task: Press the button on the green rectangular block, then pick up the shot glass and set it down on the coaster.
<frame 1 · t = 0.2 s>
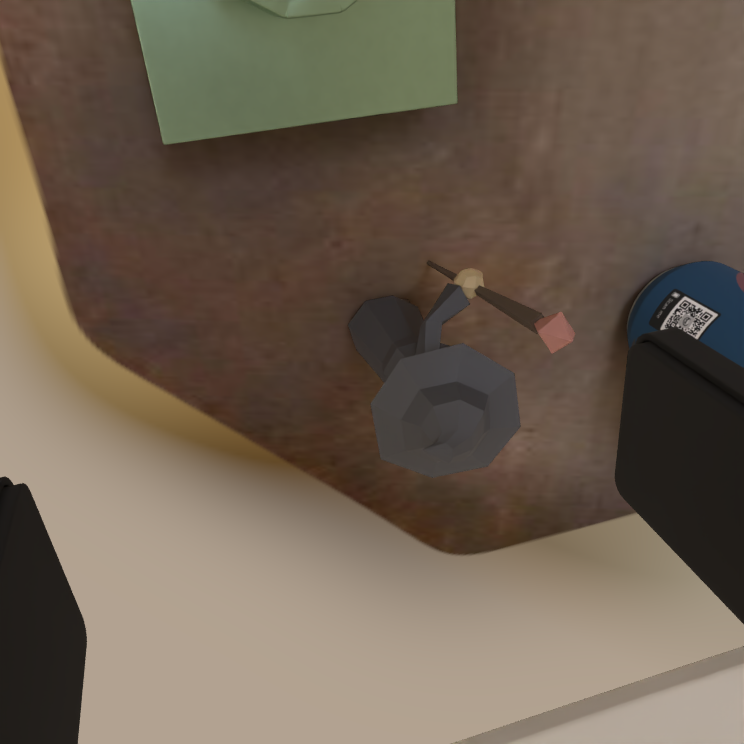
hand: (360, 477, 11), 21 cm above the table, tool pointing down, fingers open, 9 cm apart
soda can: (669, 312, 38), on the table
wizard figurine: (386, 300, 33), on the table
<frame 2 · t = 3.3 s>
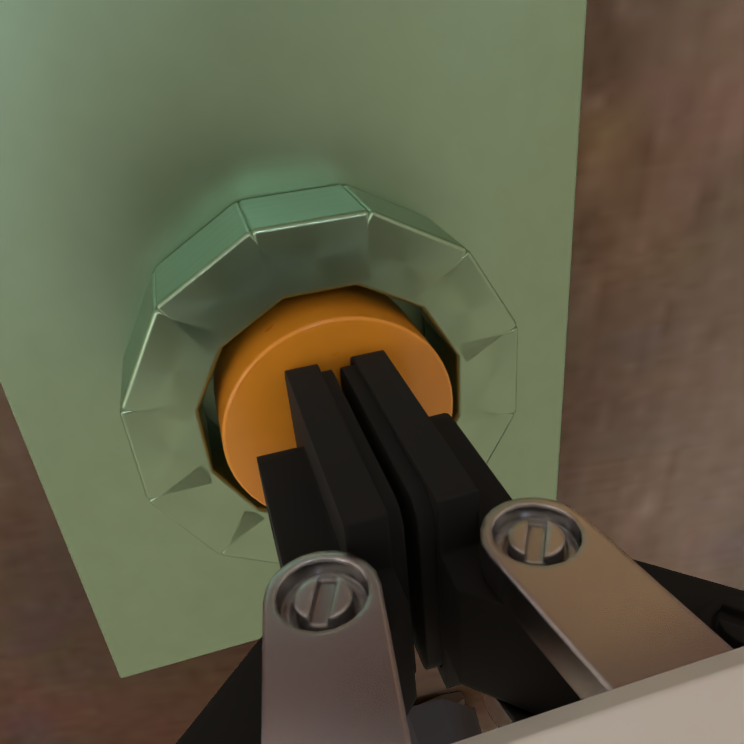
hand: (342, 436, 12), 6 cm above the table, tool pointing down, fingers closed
button: (331, 401, 12), point 5 cm above the table, slide at -0.8 cm, touching gripper
green rectangular block: (287, 304, 16), on the table
wizard figurine: (433, 693, 25), on the table
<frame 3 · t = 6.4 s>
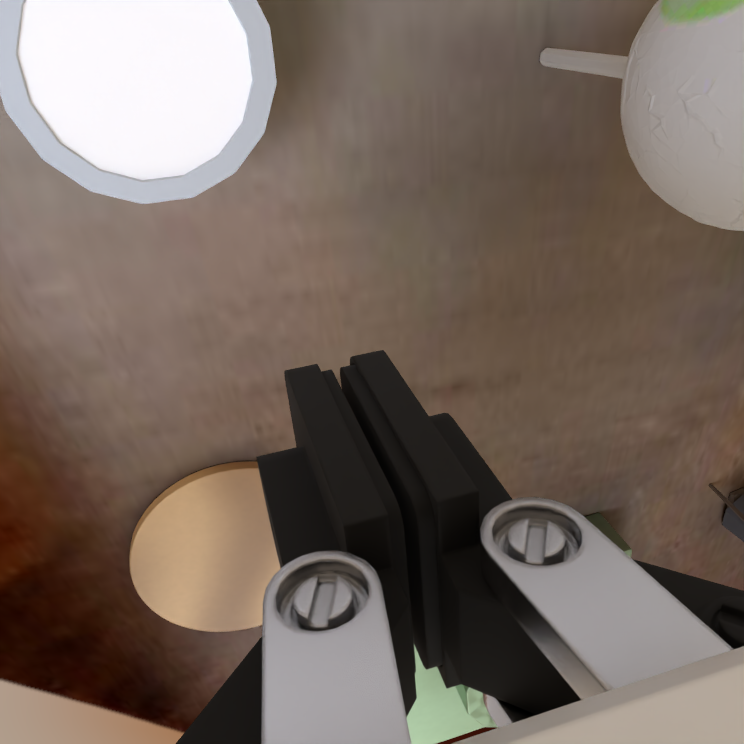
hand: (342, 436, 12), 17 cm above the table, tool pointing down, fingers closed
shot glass: (142, 50, 24), on the table
lollipop: (545, 56, 27), on the table
coaster: (238, 546, 34), on the table
green rectangular block: (488, 613, 41), on the table
wizard figurine: (724, 503, 43), on the table
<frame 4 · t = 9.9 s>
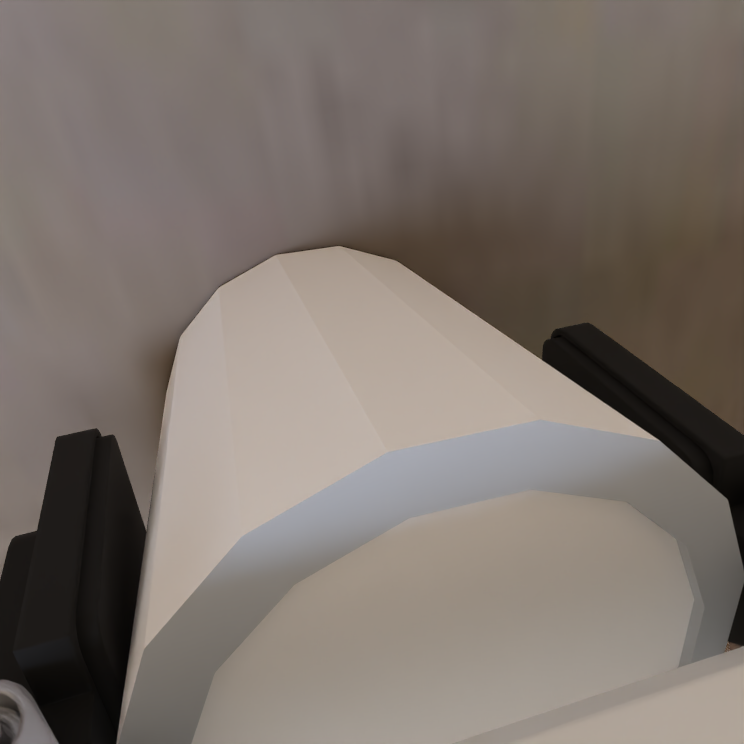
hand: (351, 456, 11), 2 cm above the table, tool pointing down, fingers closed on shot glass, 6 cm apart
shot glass: (319, 385, 13), on the table, touching gripper
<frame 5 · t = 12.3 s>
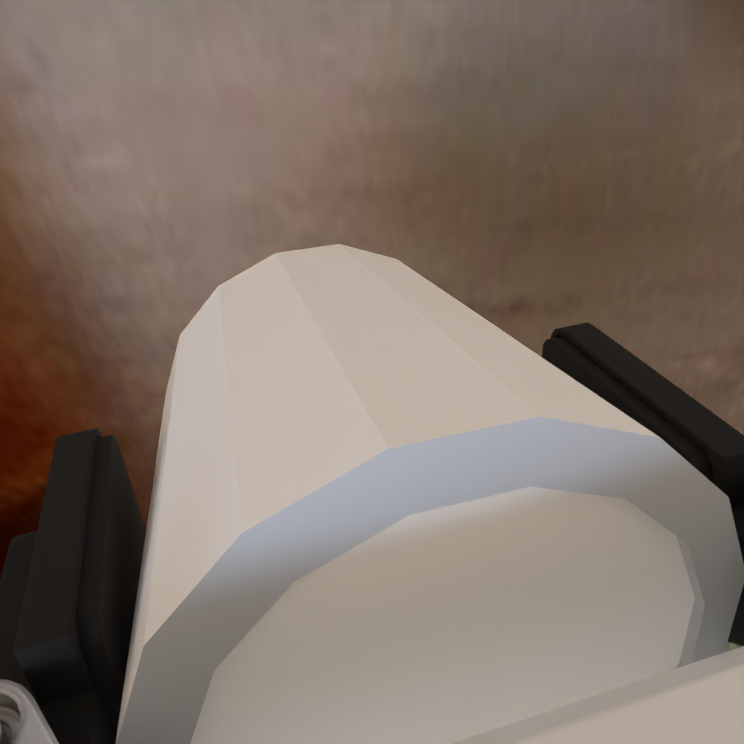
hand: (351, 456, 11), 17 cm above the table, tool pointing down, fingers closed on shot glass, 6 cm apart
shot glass: (319, 384, 13), point 15 cm above the table, touching gripper
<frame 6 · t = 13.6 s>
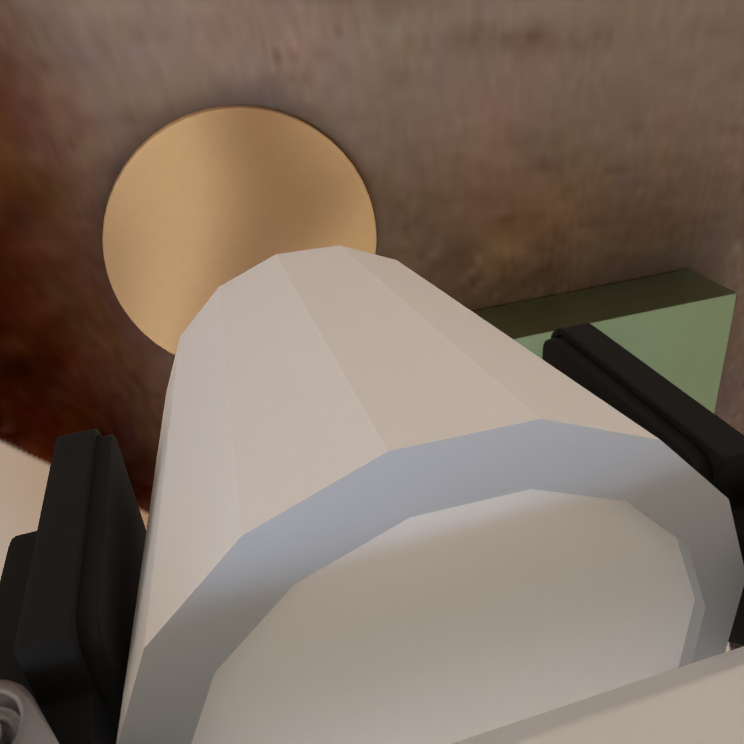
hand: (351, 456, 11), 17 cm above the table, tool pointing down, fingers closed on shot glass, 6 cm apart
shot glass: (319, 385, 13), point 14 cm above the table, touching gripper
coaster: (245, 245, 26), on the table
green rectangular block: (546, 399, 34), on the table
when the fingers open (3 cm above the table, at t = 17.3 s): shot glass stays where it is, resting on coaster.
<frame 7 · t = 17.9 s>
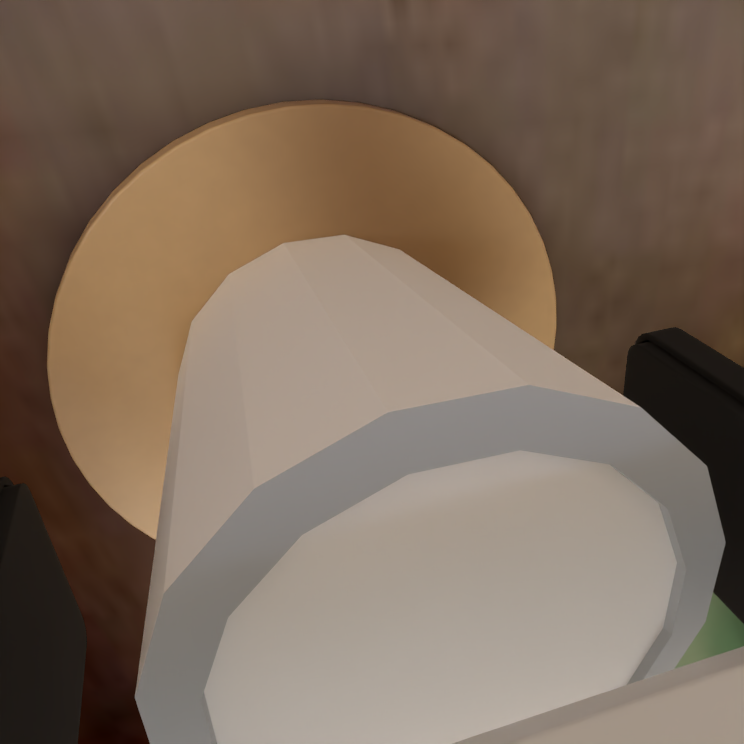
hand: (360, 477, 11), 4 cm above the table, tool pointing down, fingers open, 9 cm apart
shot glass: (325, 370, 14), resting on coaster
coaster: (319, 361, 14), on the table
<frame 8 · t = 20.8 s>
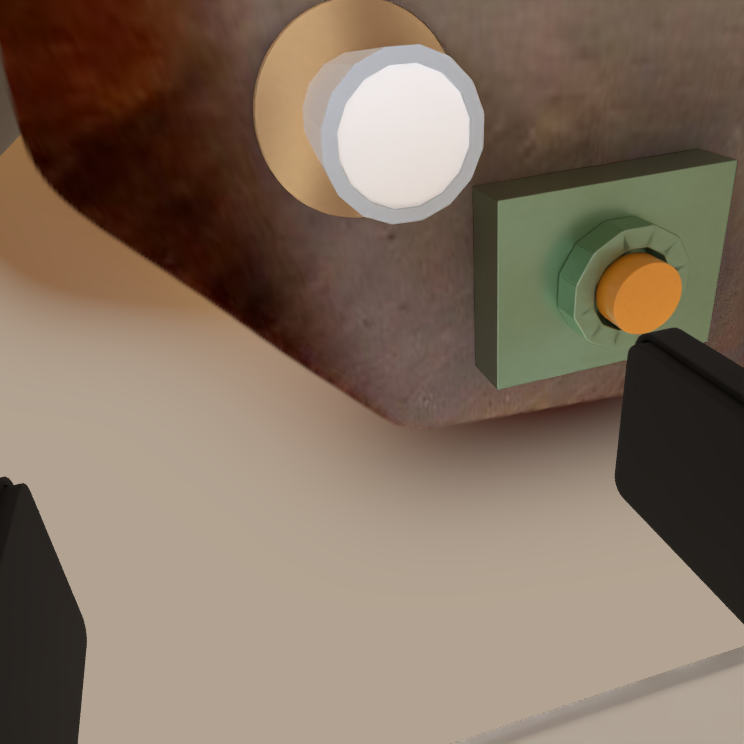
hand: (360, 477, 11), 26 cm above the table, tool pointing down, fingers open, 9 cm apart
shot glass: (358, 114, 34), resting on coaster
button: (638, 293, 37), point 5 cm above the table, slide at 0.1 cm
coaster: (356, 113, 34), on the table
green rectangular block: (583, 260, 41), on the table
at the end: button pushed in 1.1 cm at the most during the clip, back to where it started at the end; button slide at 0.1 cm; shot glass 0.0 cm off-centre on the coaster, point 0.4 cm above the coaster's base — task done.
